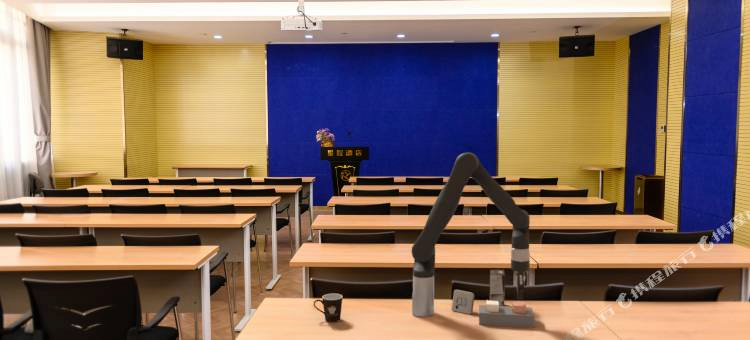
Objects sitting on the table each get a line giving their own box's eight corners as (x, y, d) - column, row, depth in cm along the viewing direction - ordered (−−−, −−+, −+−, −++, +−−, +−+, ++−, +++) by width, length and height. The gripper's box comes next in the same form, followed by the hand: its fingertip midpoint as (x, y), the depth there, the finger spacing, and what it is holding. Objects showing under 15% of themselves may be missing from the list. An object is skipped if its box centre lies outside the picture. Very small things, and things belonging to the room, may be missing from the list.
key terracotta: (513, 317, 233) (513, 305, 233) (512, 313, 238) (513, 301, 238) (526, 318, 232) (526, 306, 232) (525, 313, 237) (525, 302, 237)
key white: (486, 315, 235) (486, 304, 235) (486, 311, 240) (486, 300, 240) (498, 316, 234) (498, 304, 234) (498, 312, 239) (498, 300, 239)
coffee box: (504, 310, 250) (505, 275, 248) (489, 309, 251) (490, 274, 250) (504, 303, 259) (504, 269, 257) (489, 303, 260) (490, 268, 259)
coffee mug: (346, 317, 243) (346, 295, 242) (336, 324, 235) (336, 301, 234) (322, 313, 248) (322, 291, 247) (312, 320, 240) (312, 297, 239)
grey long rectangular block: (479, 324, 234) (479, 312, 233) (479, 316, 243) (479, 304, 243) (533, 327, 230) (534, 315, 229) (531, 319, 239) (531, 307, 239)
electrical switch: (451, 310, 250) (452, 290, 250) (456, 308, 255) (457, 288, 254) (470, 315, 245) (471, 294, 245) (475, 313, 249) (476, 292, 249)
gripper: (510, 254, 240) (509, 293, 242) (511, 262, 227) (511, 304, 229) (528, 254, 239) (527, 294, 240) (531, 262, 226) (530, 304, 227)
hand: (519, 299), depth 234 cm, fingers closed
